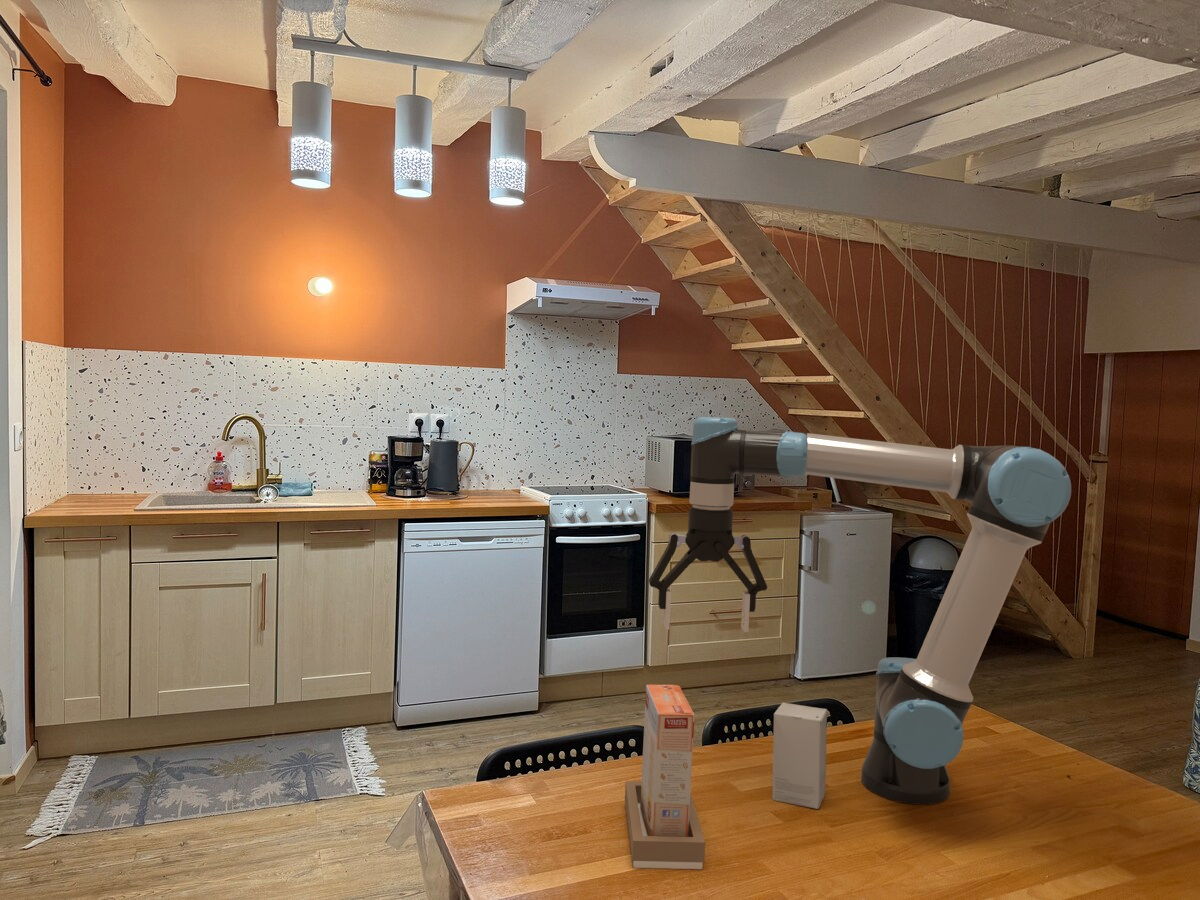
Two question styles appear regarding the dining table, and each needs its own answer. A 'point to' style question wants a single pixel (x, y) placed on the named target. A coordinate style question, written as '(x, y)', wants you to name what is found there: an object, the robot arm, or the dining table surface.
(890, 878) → the dining table surface
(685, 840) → the tray
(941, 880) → the dining table surface
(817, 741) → the skincare box
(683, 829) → the cracker box
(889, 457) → the robot arm
